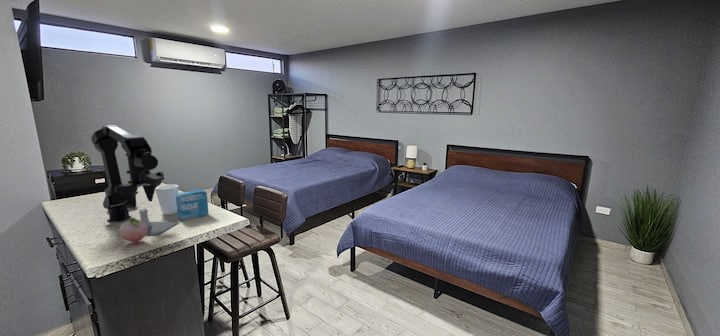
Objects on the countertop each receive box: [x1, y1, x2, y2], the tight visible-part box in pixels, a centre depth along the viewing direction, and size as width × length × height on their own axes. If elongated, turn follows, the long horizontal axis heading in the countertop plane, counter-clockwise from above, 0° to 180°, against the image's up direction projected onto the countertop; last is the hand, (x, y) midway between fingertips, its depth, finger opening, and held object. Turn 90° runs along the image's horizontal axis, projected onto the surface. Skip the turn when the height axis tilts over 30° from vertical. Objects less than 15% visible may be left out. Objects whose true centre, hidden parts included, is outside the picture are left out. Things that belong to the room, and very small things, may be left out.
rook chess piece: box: [138, 208, 152, 228], centre depth 126 cm, size 4×4×8 cm
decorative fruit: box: [118, 216, 148, 243], centre depth 112 cm, size 9×8×10 cm
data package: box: [176, 189, 209, 221], centre depth 140 cm, size 12×4×12 cm, turn 134°
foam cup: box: [155, 183, 180, 216], centre depth 146 cm, size 10×9×13 cm
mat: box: [117, 221, 180, 236], centre depth 126 cm, size 16×14×1 cm
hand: (142, 204), depth 124 cm, fingers open, 9 cm apart
